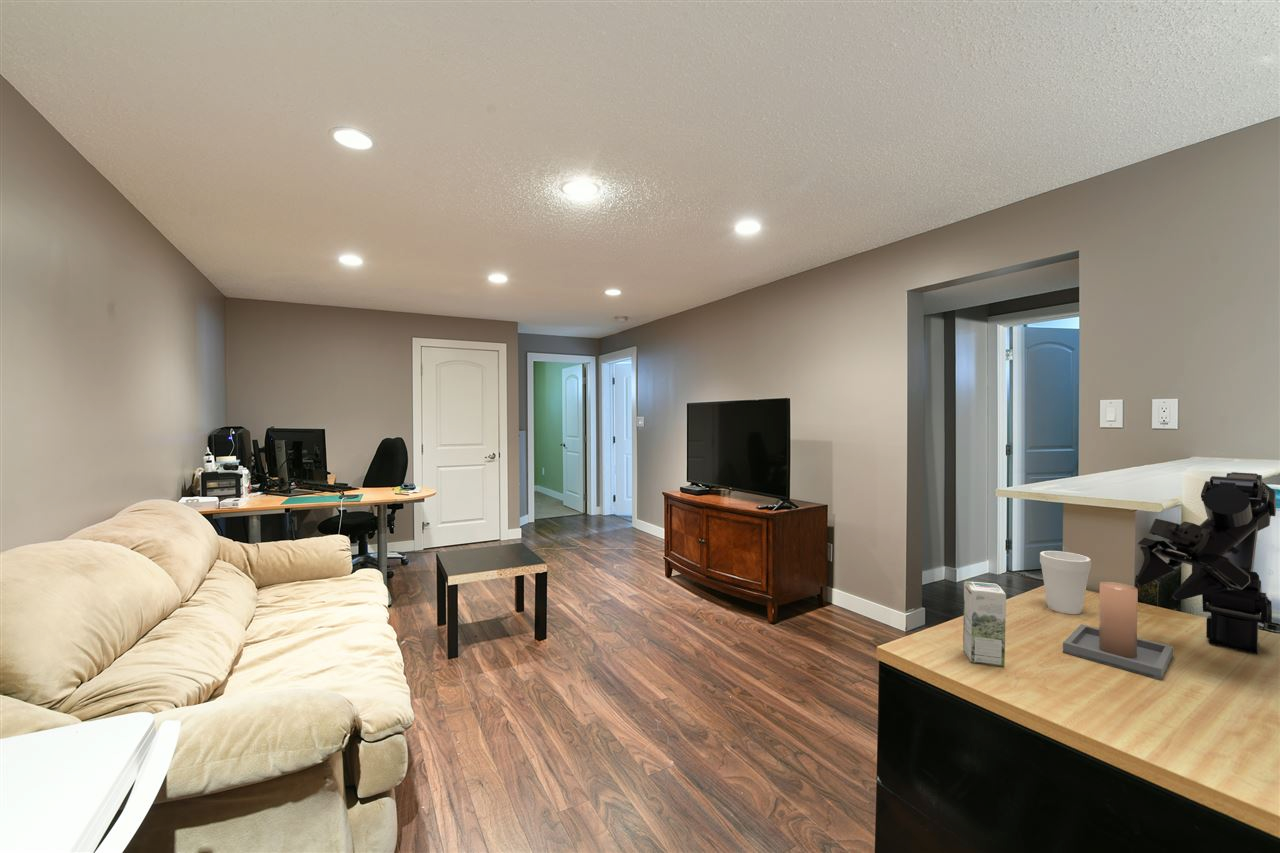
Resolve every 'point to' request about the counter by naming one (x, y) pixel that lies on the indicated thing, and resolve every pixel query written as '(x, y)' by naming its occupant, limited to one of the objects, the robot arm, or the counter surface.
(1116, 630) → the peach rounded cylinder
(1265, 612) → the robot arm
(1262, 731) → the counter surface
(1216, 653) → the counter surface
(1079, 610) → the foam cup
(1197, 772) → the counter surface
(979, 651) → the syrup box
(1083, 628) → the tray
